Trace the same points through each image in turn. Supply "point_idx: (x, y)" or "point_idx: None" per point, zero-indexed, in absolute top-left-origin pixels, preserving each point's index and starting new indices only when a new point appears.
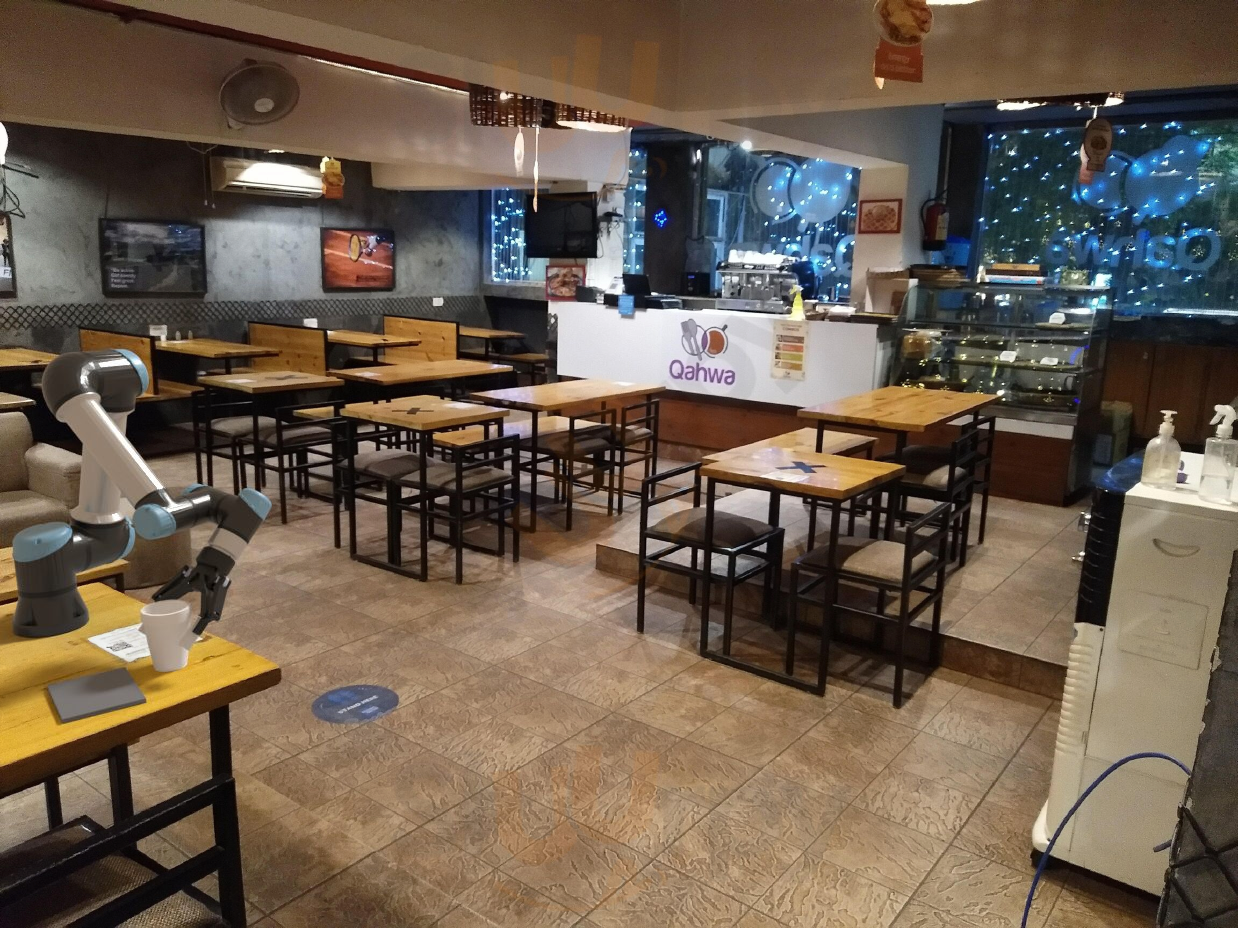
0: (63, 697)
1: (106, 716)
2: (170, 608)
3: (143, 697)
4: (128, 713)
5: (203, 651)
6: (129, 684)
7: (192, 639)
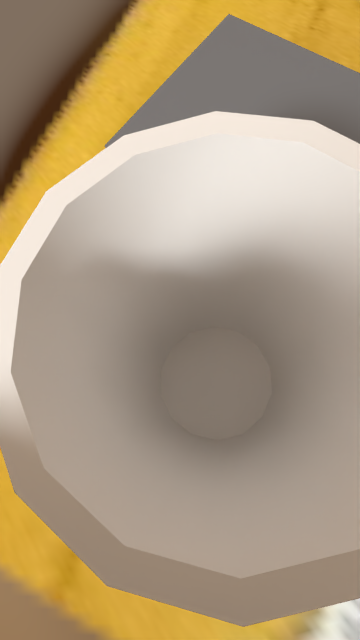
0: (335, 84)
1: (153, 75)
2: (320, 506)
3: None
4: (111, 100)
5: None
6: None
7: None
